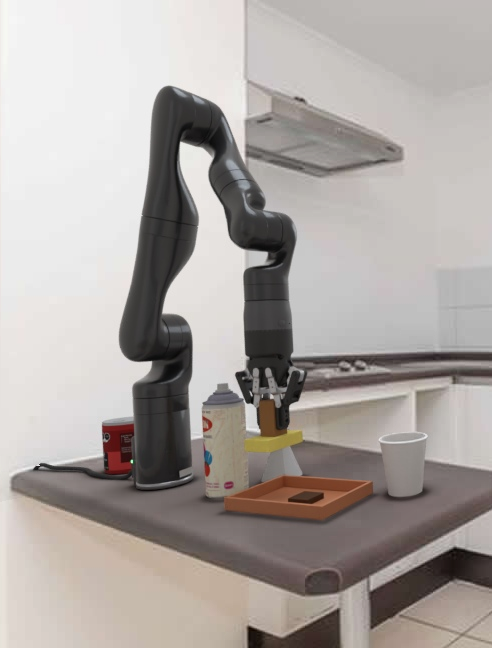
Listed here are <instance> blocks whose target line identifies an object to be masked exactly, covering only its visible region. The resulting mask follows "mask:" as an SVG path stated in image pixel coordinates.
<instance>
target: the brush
mask: <svg viewBox="0 0 492 648" xmlns="http://www.w3.org/2000/svg"><path fill="white" fill-rule="evenodd" d="M275 408H277V407H276V406H275V402H274V398H270V399H268V400H263V401H259V414H260V429H259V430H260V431H259V434H260V435H259V434H258V435H256V436H252V437H249V438H247V439H245V440H244V445H245V452H247V453H268V454H270V452H273V451H276V450H279V449H282V448H285V447H288V446H290V447H292V446H294V445H297V444H300V443H304V437H303V430H301V429H300V430H299V429H296V430H295V429H289V430H287V428H286V429H283V430H277V429H276V418H275Z"/></svg>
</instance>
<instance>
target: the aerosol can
mask: <svg viewBox="0 0 492 648" xmlns="http://www.w3.org/2000/svg"><path fill="white" fill-rule="evenodd" d="M216 385H217V387H216V389H215V390H214V392H212V394H210V395H209V396H208V397H207V399H206V400H205V401H203V402H202V406H201V421H202V422H201V423H202V443H203V463H204V483H205V484H204V485H205V495H206V497H207V498H208V499H224V497H227V496H230V495H232V494H235V493H237V492H240V491H243V490H245V489H248V488H250V481H249V480H250V479H249V459H248V452H245V445H244V440H245V439H248V437H247V420H246V419H247V418H246V416H247V415H246V402H245V399H244V397H240V396H239V394H238V393H236V392H234V390H232V389H231V388H230V387H229V382H222V383H217V384H216Z"/></svg>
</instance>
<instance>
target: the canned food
mask: <svg viewBox="0 0 492 648" xmlns="http://www.w3.org/2000/svg"><path fill="white" fill-rule="evenodd" d="M133 436H134V418H133V416H124V417H123V416H122V417H116V418H110V419H106V420H103V421H101V438H102V455H103V456H102V457H103V458H102V459H103V470H104V472H105V474H108V475H126V474H128V472H129V471H130V470H131V461H132V442H131V439H132V437H133Z"/></svg>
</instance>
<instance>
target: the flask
mask: <svg viewBox="0 0 492 648" xmlns="http://www.w3.org/2000/svg"><path fill="white" fill-rule="evenodd" d="M287 430H290V427H288V428H287ZM291 447H292V446H288V447H285V448H282V449H279V450H276V451H273V452H270V453H269V455H268V459H267V463H266V466H265V469H264V470H263V474H262V477H261V480H260V482H261V483H263V482H266V481H269V480H271V479H274V478H277V477H279V476H282V475H292V476H303V471H302V469H301V467H300V465H299V463H298V461H297V459H296V457H295V455H294V452H293V449H292V448H291Z"/></svg>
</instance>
